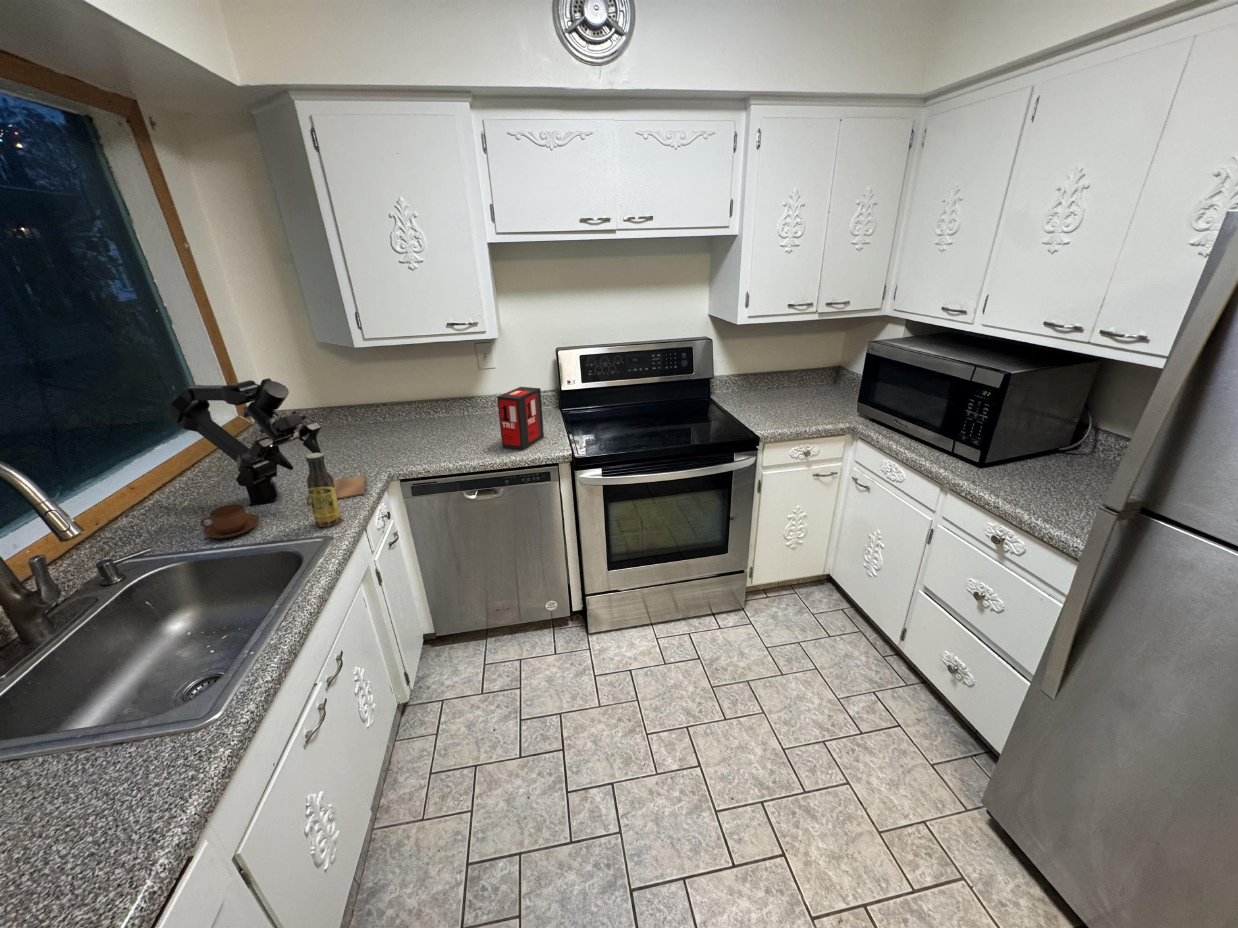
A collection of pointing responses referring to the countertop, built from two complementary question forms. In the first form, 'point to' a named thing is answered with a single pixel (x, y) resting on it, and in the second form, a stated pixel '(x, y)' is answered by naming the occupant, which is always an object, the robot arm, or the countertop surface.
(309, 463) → the sauce bottle
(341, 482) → the cork mat
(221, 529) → the cup and saucer
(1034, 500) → the countertop surface
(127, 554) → the countertop surface
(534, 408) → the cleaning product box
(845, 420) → the countertop surface
